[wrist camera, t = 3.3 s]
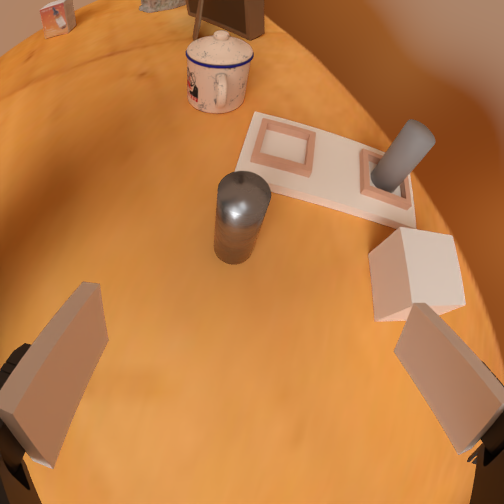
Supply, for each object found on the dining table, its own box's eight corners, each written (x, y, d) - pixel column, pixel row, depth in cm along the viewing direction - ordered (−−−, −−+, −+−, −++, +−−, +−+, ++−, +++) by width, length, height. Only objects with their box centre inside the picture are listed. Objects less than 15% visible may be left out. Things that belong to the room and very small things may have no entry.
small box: (45, 39, 47) (38, 10, 38) (54, 31, 49) (48, 3, 40) (69, 33, 48) (63, 2, 39) (77, 25, 50) (72, -5, 41)
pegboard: (232, 182, 34) (244, 106, 24) (253, 119, 39) (267, 52, 29) (410, 233, 35) (464, 187, 25) (403, 167, 40) (442, 118, 30)
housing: (374, 321, 30) (412, 305, 23) (368, 254, 33) (399, 226, 27) (426, 319, 31) (465, 304, 24) (418, 258, 34) (452, 235, 28)
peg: (209, 259, 30) (211, 207, 21) (219, 225, 32) (225, 165, 23) (247, 268, 30) (265, 220, 21) (255, 234, 32) (275, 178, 23)
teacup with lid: (186, 82, 41) (186, 21, 30) (241, 81, 43) (251, 22, 32) (185, 130, 37) (184, 58, 26) (252, 128, 38) (267, 58, 28)
